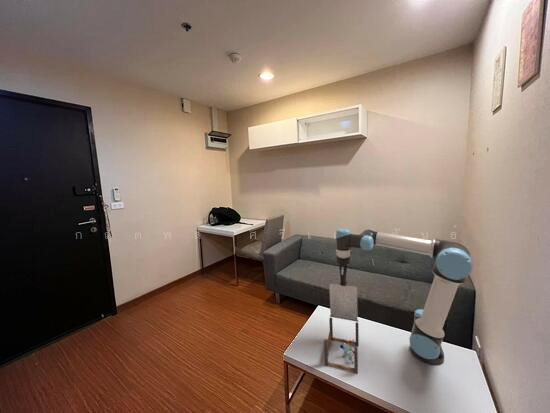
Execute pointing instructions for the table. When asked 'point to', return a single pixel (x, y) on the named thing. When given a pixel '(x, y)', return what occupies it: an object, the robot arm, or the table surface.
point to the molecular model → (347, 351)
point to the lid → (343, 302)
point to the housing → (330, 338)
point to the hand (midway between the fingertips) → (343, 294)
